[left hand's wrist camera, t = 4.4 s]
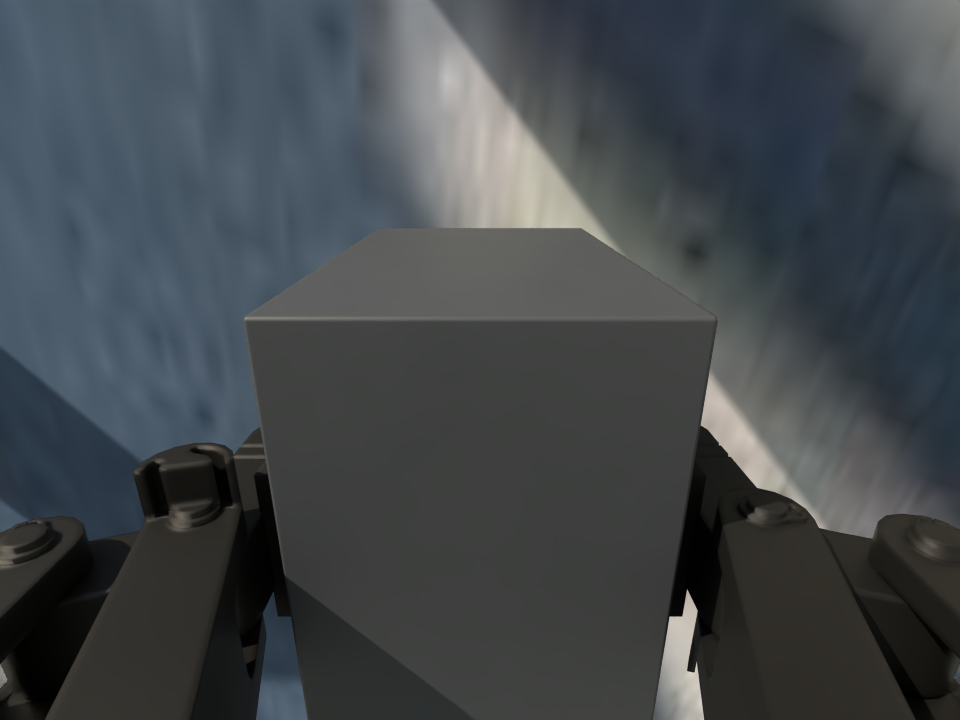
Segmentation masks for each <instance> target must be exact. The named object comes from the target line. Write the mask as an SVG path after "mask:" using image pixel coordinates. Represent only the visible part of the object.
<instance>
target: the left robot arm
mask: <svg viewBox="0 0 960 720" xmlns="http://www.w3.org/2000/svg"><path fill="white" fill-rule="evenodd" d="M133 474H134V478H135V482H136V486H137V490H138V493H139V497H140V501H141V505H142V508H143V512H144V516H145V522H144V524H143V526H142V528H141V530H140V531H137V532H133V533H128V534H123V535H118V536H113V537H108V538H103V539H98V540H93V541H88V538H87V535H86V532H85V528H84V525H83V523H81V522H80V521H78V520H77V519H76V518H71V517H63V516H57V517H49V518H39V519H34V520H30V522H27V521H26V522H23V523H20V524H17V525H15V526H13V527H12V528H10V529H8V530H5V531H3V532H1V533H0V664H1V666H2V668H3V671H4V673H5V675H6V678H7V680H8V681H7V682H6V683H5V684H4V685H3V686H2V687H1V688H0V720H256V715H257V707H258V699H259V691H260V683H261V675H262V667H263V659H264V651H265V643H266V630H265V623H264V618H263V611H264V609H265V607H266V605H267V603H268V601H269V599H270V597H271V595H272V593H273V591H274V596H275V601H276V607H277V613H278V616H291V613H290V606H289V600H288V594H287V588H286V582H285V576H284V569H283V563H282V557H281V551H280V545H279V539H278V532H277V526H276V520H275V514H274V508H273V502H272V495H271V489H270V483H269V477H268V471H267V465H266V458H265V452H264V446H263V440H262V434H261V428H258V429H256V430H255V431H253V432H252V434H251V435H250V436H249V437H248V438H247V439H246V441H245V442H244V443H243V444H242V447H240V448H239V449H238V450H237V451H236V453H235V454H234V455H233V451H232V450H230V449H229V448H228V447H226V446H225V445H220V444H215V443H193V444H188V445H183V446H178V447H174V448H171V449H169V450H166V451H163V452H160V453H157V454H156V455H154V456H152V457H150V458H149V459H147V460H145V461H143V462H142V463H141V464H140V465H139V466H138V467H137V468H136V469H135V470H134V471H133ZM687 589H688V591H689V593H690V595H691V598H692V600H693V602H694V604H695V606H696V608H697V610H698V613H697V618H696V623H695V629H694V634H693V639H692V645H691V650H690V656H689V661H688V668H687V671H689V672H695V667H696V662H697V666H698V674H699V682H700V689H701V697H702V705H703V713H704V720H960V685H959V684H958V682H957V681H956V680H955V679H954V676H955V674H956V672H957V669H958V667H959V665H960V530H959V529H957V528H955V527H953V526H950V525H949V524H948V523H946V522H943V521H940V520H937V519H934V520H933V519H932V518H929V517H925V516H916V515H907V514H895V515H887V516H885V517H884V518H882V519H881V520H880V521H878V524H877V527H876V530H875V533H874V536H873V539H870V538H865V537H860V536H855V535H849V534H844V533H839V532H834V531H829V530H825V529H821V528H819V527H818V525H817V523H816V521H815V519H814V518H813V517H812V516H811V515H810V513H809V512H808V511H807V510H806V509H805V508H804V507H802V506H801V505H799V504H798V503H796V502H795V501H793V500H792V499H790V498H787V497H785V496H783V495H780V494H778V493H775V492H772V491H768V490H763V489H759V488H756V486H755V485H754V484H753V483H752V482H751V480H750V479H749V478H748V477H747V476H746V475H745V473H744V472H743V471H742V470H741V469H740V467H739V466H738V465H737V464H736V463H735V462H734V460H733V459H732V458H731V457H728V453H727V452H726V451H725V450H724V449H723V447H722V446H719V443H718V442H717V440H716V439H715V438H714V437H713V436H712V434H711V433H710V432H709V431H708V430H707V429H706V428H704V427H702V426H700V432H699V438H698V444H697V450H696V456H695V462H694V468H693V475H692V481H691V487H690V493H689V499H688V505H687V511H686V518H685V524H684V530H683V536H682V542H681V548H680V555H679V561H678V567H677V573H676V579H675V585H674V591H673V598H672V604H671V610H670V616H682V615H683V609H684V604H685V598H686V592H687Z"/></svg>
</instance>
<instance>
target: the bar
mask: <svg viewBox="0 0 960 720" xmlns="http://www.w3.org/2000/svg"><path fill="white" fill-rule="evenodd" d="M243 323H244V329H245V335H246V341H247V347H248V354H249V360H250V366H251V372H252V378H253V384H254V391H255V397H256V403H257V409H258V415H259V421H260V428H261V434H262V440H263V446H264V452H265V458H266V465H267V471H268V477H269V483H270V489H271V495H272V502H273V508H274V514H275V520H276V526H277V532H278V539H279V545H280V551H281V557H282V563H283V569H284V576H285V582H286V588H287V594H288V600H289V606H290V613H291V619H292V625H293V631H294V637H295V643H296V650H297V656H298V662H299V668H300V674H301V680H302V687H303V693H304V699H305V705H306V711H307V717H308V720H653V714H654V708H655V702H656V696H657V690H658V684H659V678H660V671H661V665H662V659H663V653H664V647H665V641H666V635H667V628H668V622H669V616H670V610H671V604H672V598H673V591H674V585H675V579H676V573H677V567H678V561H679V555H680V548H681V542H682V536H683V530H684V524H685V518H686V511H687V505H688V499H689V493H690V487H691V481H692V475H693V468H694V462H695V456H696V450H697V444H698V438H699V432H700V425H701V419H702V413H703V407H704V401H705V395H706V388H707V382H708V376H709V370H710V364H711V358H712V352H713V345H714V339H715V333H716V327H717V318H716V316H714V315H713V314H711V313H710V312H708V311H707V310H705V309H704V308H702V307H701V306H699V305H697V304H696V303H694V302H693V301H691V300H690V299H688V298H687V297H685V296H684V295H682V294H681V293H679V292H678V291H676V290H675V289H673V288H672V287H670V286H668V285H667V284H665V283H664V282H662V281H661V280H659V279H658V278H656V277H655V276H653V275H652V274H650V273H649V272H647V271H646V270H644V269H643V268H641V267H639V266H638V265H636V264H635V263H633V262H632V261H630V260H629V259H627V258H626V257H624V256H623V255H621V254H620V253H618V252H617V251H615V250H614V249H612V248H610V247H609V246H607V245H606V244H604V243H603V242H601V241H600V240H598V239H597V238H595V237H594V236H592V235H591V234H589V233H588V232H586V231H585V230H583V229H581V228H379V229H377V230H376V231H374V232H373V233H371V234H370V235H368V236H367V237H365V238H364V239H362V240H361V241H359V242H357V243H356V244H354V245H353V246H351V247H350V248H348V249H347V250H345V251H344V252H342V253H341V254H339V255H338V256H336V257H335V258H333V259H332V260H330V261H329V262H327V263H326V264H324V265H323V266H321V267H319V268H318V269H316V270H315V271H313V272H312V273H310V274H309V275H307V276H306V277H304V278H303V279H301V280H300V281H298V282H297V283H295V284H294V285H292V286H291V287H289V288H288V289H286V290H284V291H283V292H281V293H280V294H278V295H277V296H275V297H274V298H272V299H271V300H269V301H268V302H266V303H265V304H263V305H262V306H260V307H259V308H257V309H256V310H254V311H253V312H251V313H249V314H248V315H246V316H245V317H244V320H243Z"/></svg>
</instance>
